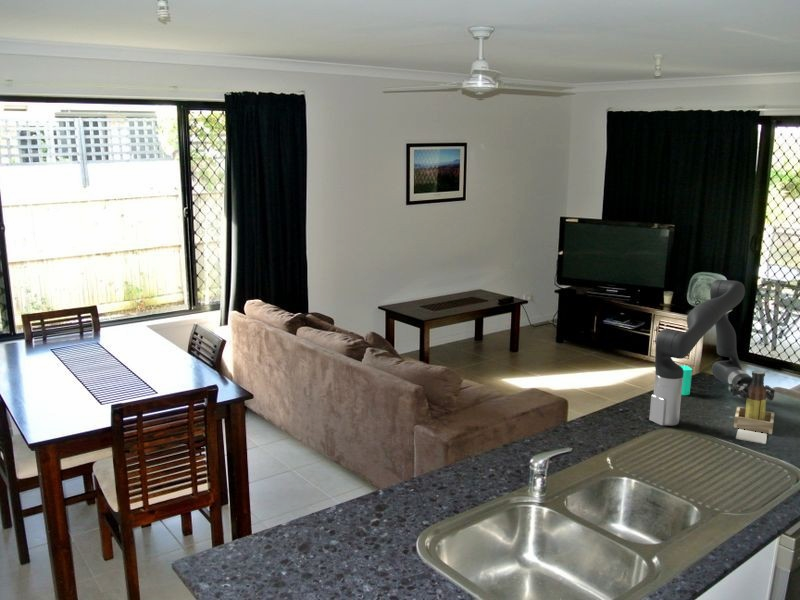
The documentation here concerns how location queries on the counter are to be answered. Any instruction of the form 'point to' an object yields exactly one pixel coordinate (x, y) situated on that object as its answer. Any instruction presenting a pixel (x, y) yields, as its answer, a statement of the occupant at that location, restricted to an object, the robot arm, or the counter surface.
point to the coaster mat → (751, 436)
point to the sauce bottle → (756, 397)
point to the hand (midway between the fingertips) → (758, 397)
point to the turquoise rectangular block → (686, 380)
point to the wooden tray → (753, 421)
